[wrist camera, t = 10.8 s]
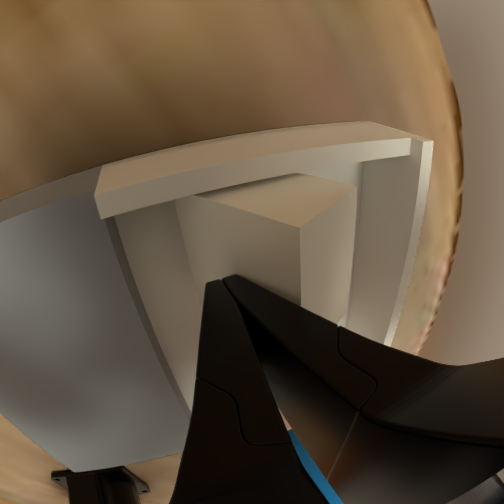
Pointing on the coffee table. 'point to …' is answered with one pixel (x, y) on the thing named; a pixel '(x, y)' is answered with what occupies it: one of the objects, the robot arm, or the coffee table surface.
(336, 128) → the tray
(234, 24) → the coffee table surface
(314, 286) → the cream block
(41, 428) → the slate plate
